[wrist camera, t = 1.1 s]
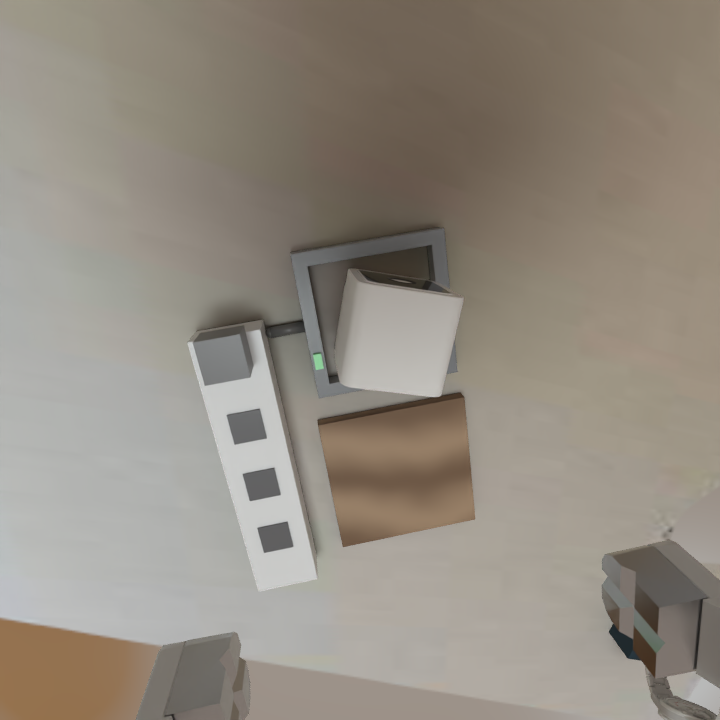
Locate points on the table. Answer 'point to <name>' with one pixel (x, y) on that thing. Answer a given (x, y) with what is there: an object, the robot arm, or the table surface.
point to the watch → (664, 689)
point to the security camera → (395, 333)
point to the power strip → (256, 448)
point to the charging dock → (351, 250)
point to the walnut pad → (399, 468)
